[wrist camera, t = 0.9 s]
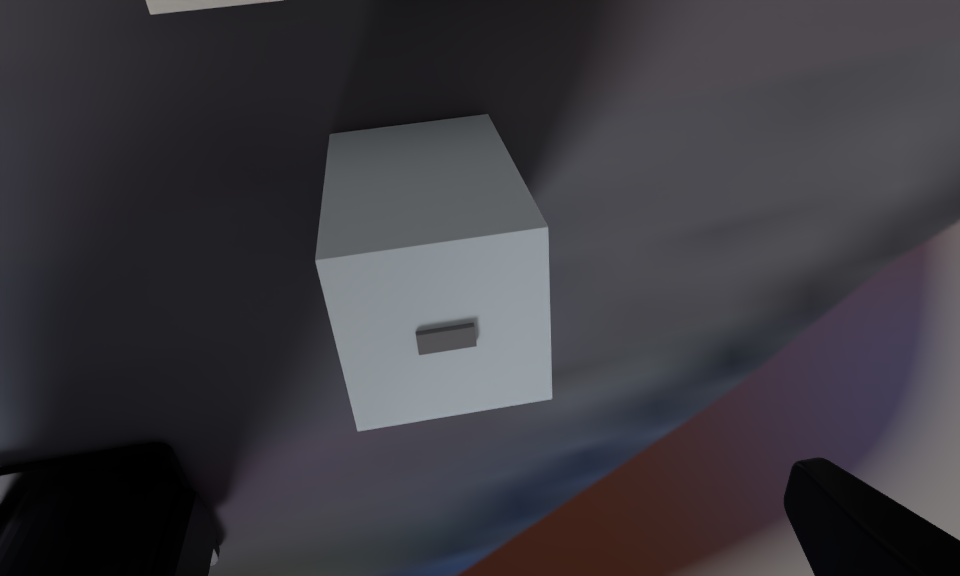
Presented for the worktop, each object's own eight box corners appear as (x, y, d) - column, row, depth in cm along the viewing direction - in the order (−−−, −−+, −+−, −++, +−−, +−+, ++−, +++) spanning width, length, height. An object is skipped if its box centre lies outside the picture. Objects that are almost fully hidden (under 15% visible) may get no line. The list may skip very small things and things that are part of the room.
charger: (358, 270, 20) (357, 436, 14) (329, 134, 18) (314, 264, 12) (497, 250, 21) (553, 403, 15) (487, 114, 18) (549, 230, 12)
